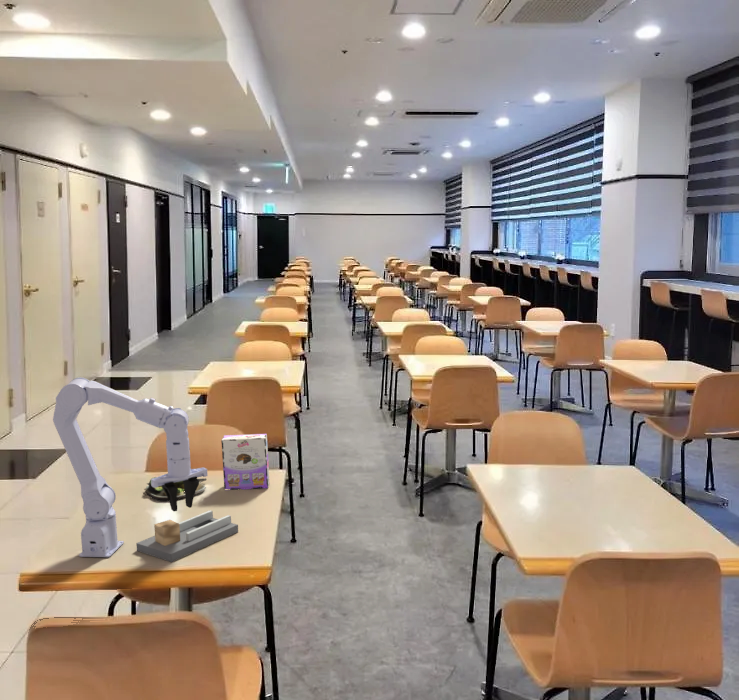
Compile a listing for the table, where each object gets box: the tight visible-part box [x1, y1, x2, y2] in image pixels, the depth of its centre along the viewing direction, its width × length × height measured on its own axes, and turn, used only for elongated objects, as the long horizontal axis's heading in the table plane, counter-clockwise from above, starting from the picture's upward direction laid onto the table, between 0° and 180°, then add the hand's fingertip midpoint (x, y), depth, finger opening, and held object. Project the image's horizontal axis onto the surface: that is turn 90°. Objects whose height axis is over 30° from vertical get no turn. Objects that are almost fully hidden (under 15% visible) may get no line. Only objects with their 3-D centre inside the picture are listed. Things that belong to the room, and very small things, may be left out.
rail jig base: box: [135, 509, 239, 563], centre depth 207 cm, size 23×13×4 cm, turn 145°
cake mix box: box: [220, 433, 270, 491], centre depth 249 cm, size 14×6×16 cm, turn 92°
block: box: [153, 519, 180, 546], centre depth 202 cm, size 4×4×4 cm
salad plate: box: [144, 476, 207, 502], centre depth 248 cm, size 19×18×5 cm
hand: (181, 508), depth 204 cm, fingers open, 3 cm apart
